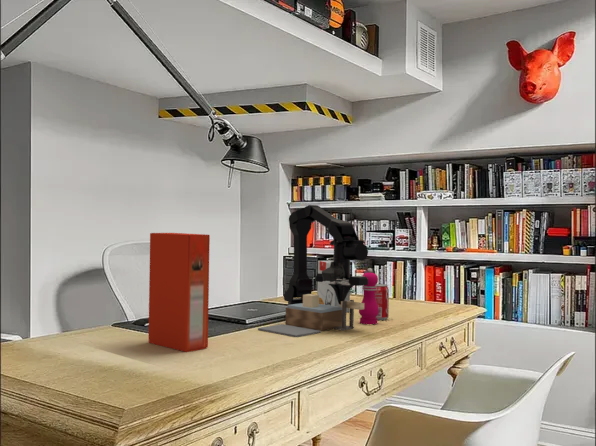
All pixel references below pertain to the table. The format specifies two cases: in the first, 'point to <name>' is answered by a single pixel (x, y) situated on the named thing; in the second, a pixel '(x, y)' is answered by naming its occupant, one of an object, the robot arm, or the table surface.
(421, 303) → the table surface
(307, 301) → the lid
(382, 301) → the soda can
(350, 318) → the open wooden box
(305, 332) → the felt pad
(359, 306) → the tan wooden bar
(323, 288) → the hard drive box
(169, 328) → the file binder
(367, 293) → the pepper mill
